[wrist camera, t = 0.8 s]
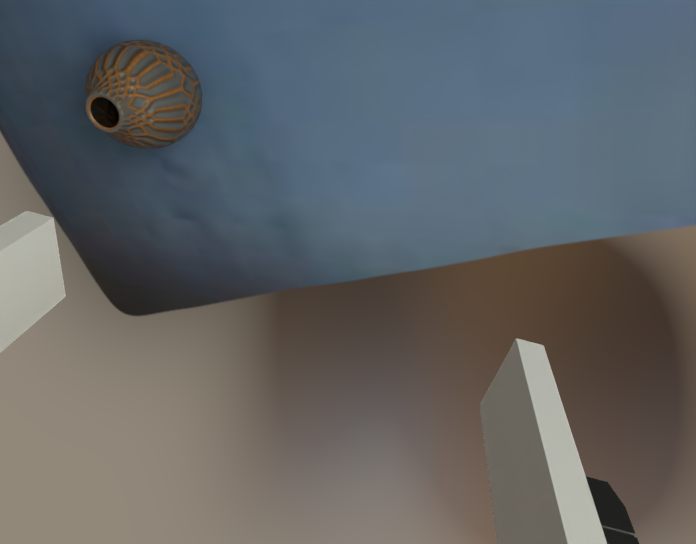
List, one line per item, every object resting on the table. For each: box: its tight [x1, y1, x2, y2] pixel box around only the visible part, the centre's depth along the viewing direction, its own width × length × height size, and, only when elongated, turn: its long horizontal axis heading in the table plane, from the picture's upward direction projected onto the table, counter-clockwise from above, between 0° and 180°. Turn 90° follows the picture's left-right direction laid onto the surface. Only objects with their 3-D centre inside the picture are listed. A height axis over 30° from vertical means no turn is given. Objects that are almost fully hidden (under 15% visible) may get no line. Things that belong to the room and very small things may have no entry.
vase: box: [85, 40, 202, 148], centre depth 32 cm, size 7×7×9 cm
